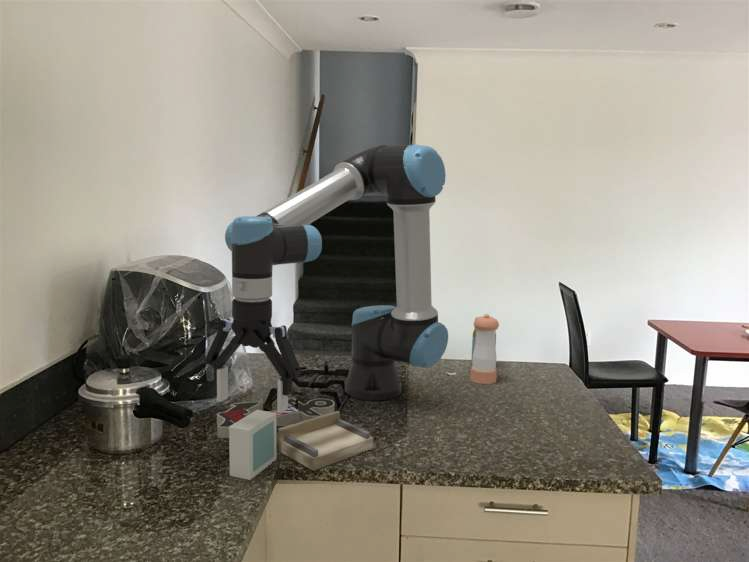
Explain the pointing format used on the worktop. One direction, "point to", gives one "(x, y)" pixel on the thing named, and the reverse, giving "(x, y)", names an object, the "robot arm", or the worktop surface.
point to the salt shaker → (484, 351)
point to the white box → (252, 444)
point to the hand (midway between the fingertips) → (252, 405)
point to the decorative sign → (282, 419)
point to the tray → (323, 441)
